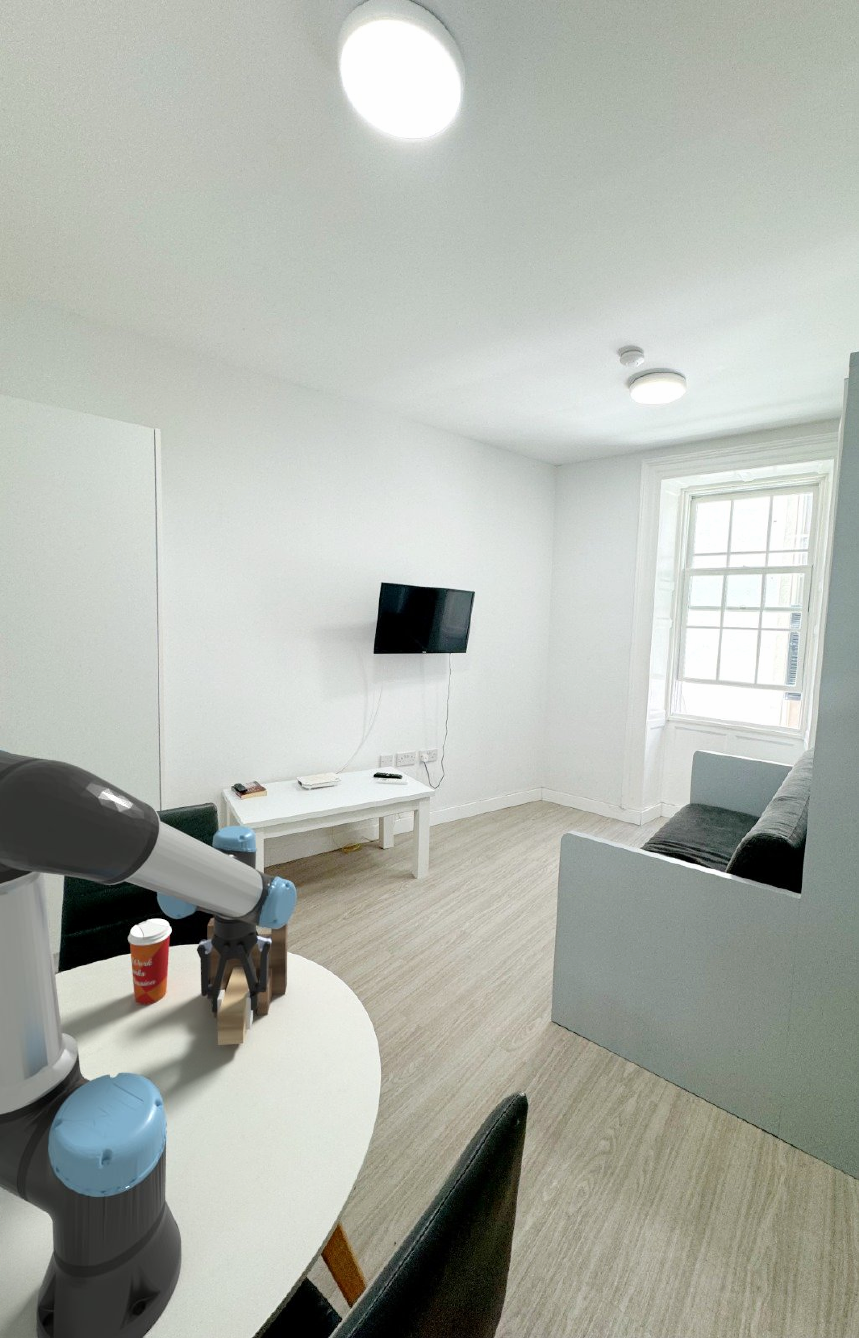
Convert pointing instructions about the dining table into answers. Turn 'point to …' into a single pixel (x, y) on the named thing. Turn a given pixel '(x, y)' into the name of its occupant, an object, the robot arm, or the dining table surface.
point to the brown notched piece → (258, 966)
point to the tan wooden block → (233, 1009)
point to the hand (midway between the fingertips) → (235, 1025)
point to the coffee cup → (150, 959)
